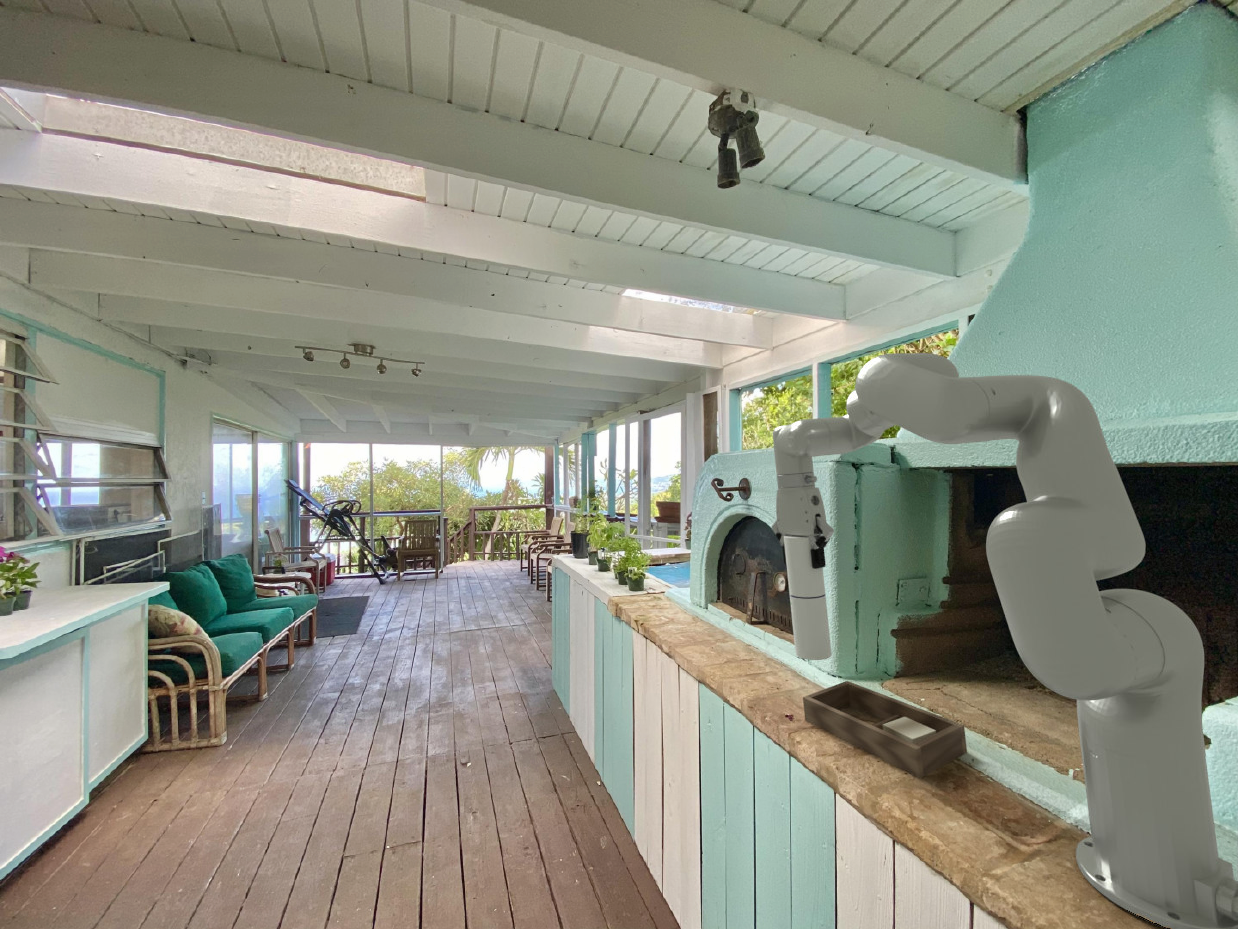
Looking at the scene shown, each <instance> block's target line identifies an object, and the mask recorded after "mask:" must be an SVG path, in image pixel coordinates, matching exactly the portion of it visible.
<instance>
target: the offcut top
mask: <svg viewBox="0 0 1238 929" xmlns="http://www.w3.org/2000/svg"><path fill="white" fill-rule="evenodd" d="M882 725H883V731H886V732H888V733H890V734H892V735H895V736H897V737H899V738H901V739H903V740H906V741H908V742H910V743H912V744H916V743H918V742H920V741H922V740H924V739H926V738H928V737H930V736H932V735H934V734H936V730H934V729H931V728H929V727H927V726H925V725H922V724H920V723H918V722H916V721H914V720H911V719H909V718H907V717H903V718H900V719H897V720H894V721H891V722H888V723H885V724H882Z"/></svg>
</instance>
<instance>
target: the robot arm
mask: <svg viewBox="0 0 1238 929" xmlns="http://www.w3.org/2000/svg"><path fill="white" fill-rule="evenodd" d="M845 408H846V413H847V414H845V415H843V416H838V417H836V416H835V417H820V418H807V419H806V418H805V419H799V420H796V421H794V422H791V423H790V424H784V425H780V426H777V427H775V428H773V431H772V440H773V441H772V442H773V443H772V444H773V452H774V460H775V461H774V462H775V469H776V470H775V471H776V482H777V490H776V498H775V501H776V502H775V503H776V504H775V505H776V506H775V507H776V508H775V512H776V520H775V521H774V523H773V524H772V526H771V530H772V531H773V533H774V534H775V537H776V538H777V540H778V541H779V545H780V546H781V547H782V555H783V564H784V565H787V564H786V554H785V544H784V536H787V535H793V536H806V537H809V541H810V543H811V545H812V547H813V549H811V560H812V567H813V568H814V569H818V568H822V567H823V568H825V567H826V556H825V548H827V545H828V543H829V542H830V540H831V537H832V536H833V534H834V532H835V530H834V528H833V527H831V525H830V524H829V523H827V516H826V510H825V509H826V508H825V505H824V501H823V497H822V494H821V491H820V489H819V487H816V482H817V481H818V477H817V476H816V475H815V474H814V472H815V471H814V462H813V457H821V456H822V457H824V456H833V455H834V456H835V455H844V454H848V453H852V452H854V451H857V450H859V449H861V448H865V447H867V446H869V445H871V444H873V443H875V442H877V441H878V440H879V439H880V438H881V436H882V435H883V434H884V432H885V431H886V430H889V429H890V428H892V427H894V426H897V427H900V428H901V429H903V430H906V431H908V432H909V433H913V434H914V435H915V436H918V437H920V438H923V439H925V440H927V441H929V442H930V441H931V442H932V443H937V444H941V445H942V444H943V445H962V444H970V443H984V442H991V441H999V440H1001V441H1002V440H1016V441H1018V445H1017V450H1016V458H1015V459H1016V460H1015V464H1016V465H1015V467H1016V471H1017V476H1018V479H1019V481H1020V483H1021V486H1022V489H1023V491H1024V496H1025V499H1026V501H1025V502H1021V503H1016V504H1015V505H1012V506H1010V507H1007V508H1006V509H1004V510H1003V511H1001V512H1000V513H998V515H996V516H995V517H994V519H993V521H992V522H991V524H990V526H989V528H988V530H987V535H986V541H985V542H986V543H985V550H986V552H985V553H986V557H987V561H988V566H989V569H990V572H991V575H992V579H993V582H994V585H995V589H996V591H997V594H998V597H999V600H1000V603H1001V607H1002V610H1003V614H1004V615H1005V616H1004V617H1005V620H1006V623H1007V625H1008V629H1009V632H1010V635H1011V638H1012V641H1013V643H1014V646H1015V648H1016V651H1017V653H1018V655H1019V658H1020V659H1021V660H1022V662H1023V664H1024V665H1025V666H1026V668H1027V669H1028V671H1029V672H1030V673H1031V674H1032V675H1033V677H1034V678H1035V679H1036V680H1038V681H1039V682H1040V683H1041V684H1042V685H1043V686H1044V687H1046V688H1047V689H1049V690H1051V691H1052V692H1055V693H1056V694H1058V695H1060V696H1063V697H1064V698H1065V697H1066V698H1068V699H1073V700H1076V716H1077V724H1078V737H1079V744H1080V751H1081V752H1080V753H1081V760H1082V768H1083V777H1084V784H1085V794H1086V800H1087V810H1088V818H1089V826H1090V828H1089V829H1090V835H1091V836H1088V837H1086V838H1083V839H1081V841H1079V842H1078V843H1077V845H1076V848H1075V858H1076V862H1077V866H1078V869H1079V871H1080V872H1081V873H1082V875H1083V876H1084V877H1085V878H1084V879H1086V880H1087V881H1088V882H1089V883H1090V885H1091V886H1093V887H1094V889H1095V890H1097V891H1098V892H1099V893H1101V894H1102V895H1103V896H1104V897H1106V898H1107V899H1108V900H1110V901H1111V902H1113V903H1114V904H1116V905H1117V906H1119V907H1121V908H1123V910H1126V911H1127V910H1128V911H1127V912H1129V911H1130V912H1129V913H1131V912H1133V913H1134V914H1133V913H1132V914H1133V915H1135V914H1139V915H1141V916H1143V917H1146V918H1147V919H1149V920H1152V921H1154V922H1156V923H1158V924H1160V925H1161V926H1160V927H1162V926H1165V927H1169V928H1172V929H1238V880H1235V877H1234V870H1233V864H1232V863H1231V862H1229V861H1228V860H1224V859H1222V858H1220V857H1219V852H1218V842H1217V841H1218V840H1217V834H1216V826H1215V820H1214V818H1215V817H1214V812H1213V803H1212V796H1211V788H1210V781H1209V780H1210V779H1209V774H1208V773H1209V772H1208V766H1207V758H1206V757H1207V753H1206V745H1205V737H1204V728H1203V713H1202V712H1203V711H1202V700H1203V699H1202V698H1203V697H1202V695H1203V685H1204V684H1203V683H1204V673H1205V672H1204V670H1205V651H1204V650H1205V649H1204V646H1203V640H1202V637H1201V634H1200V632H1199V630H1198V628H1197V627H1196V625H1195V624H1194V623H1195V622H1193V620H1192V619H1191V618H1190V617H1189V615H1188V614H1186V613H1185V612H1184V610H1182V609H1181V608H1180V607H1178V606H1177V605H1176V604H1174V603H1173V602H1171V601H1170V600H1168V599H1166V598H1164V597H1162V596H1159V595H1157V594H1154V593H1151V592H1148V591H1145V590H1139V589H1131V588H1112V589H1105V590H1101V591H1099V587H1098V584H1097V582H1096V581H1101V580H1105V579H1109V578H1110V579H1111V578H1113V577H1117V576H1119V575H1122V574H1125V573H1127V572H1129V571H1132V570H1134V569H1136V567H1137V566H1138V565H1139V564H1140V563H1141V562H1142V561H1143V559H1144V557H1145V554H1146V540H1145V539H1146V538H1145V537H1144V533H1143V531H1142V527H1141V526H1140V523H1139V520H1138V518H1137V515H1136V513H1135V510H1134V508H1133V506H1132V503H1131V501H1130V498H1129V496H1128V493H1127V490H1126V488H1125V485H1124V482H1123V481H1122V478H1121V476H1120V473H1119V471H1118V468H1117V465H1116V464H1115V461H1114V460H1113V457H1112V455H1111V452H1110V450H1109V447H1108V445H1107V442H1106V439H1105V437H1104V433H1103V429H1102V427H1101V424H1100V420H1099V418H1098V415H1097V413H1096V412H1097V411H1096V410H1095V408H1094V406H1093V404H1092V402H1091V400H1089V398H1088V397H1087V395H1086V394H1085V393H1084V392H1083V391H1081V389H1080V388H1078V387H1076V386H1075V385H1074V384H1071V383H1070V382H1067V381H1065V380H1062V379H1061V378H1060V379H1059V378H1056V377H1051V376H1045V375H1035V374H1033V375H1029V374H1025V375H1024V374H1019V375H1018V374H1016V375H1015V374H1012V375H1011V374H1010V375H1007V374H1005V375H985V376H967V377H966V376H965V377H962V376H961V377H960V375H959V371H958V369H957V367H956V366H955V364H954V363H953V362H952V361H951V360H950V359H948V358H946V357H945V356H943V355H939V354H937V353H928V352H915V353H914V352H913V353H911V352H909V353H908V352H907V353H905V352H904V353H901V352H900V353H899V352H898V353H885V354H884V353H883V354H880V355H878V356H875V357H873V358H872V359H871V360H868V361H867V362H866V363H865V364H864V365H863V367H861V368H860V370H859V372H858V373H857V376H856V379H855V385H854V389H853V390H852V391H851V392H850V394H849V395H848V397H847V399H846V405H845ZM815 537H817V541H816V539H815Z"/></svg>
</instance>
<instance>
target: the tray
mask: <svg viewBox="0 0 1238 929" xmlns="http://www.w3.org/2000/svg"><path fill="white" fill-rule="evenodd" d="M802 704H803V711H804V721H805V722H808V723H809V724H811V725H814V726H816V727H817V728H820V729H822V730H824V731H826V732H828V733H830V734H832V735H833V736H835V737H837V738H839V739H840V740H843V741H845V742H847V743H849V744H851V745H853V746H854V747H857V748H859V749H860V750H862V751H865V752H867V753H868V754H871V755H873V756H875V757H877V758H878V759H880V760H882V761H884V762H886V763H888V764H890V765H892V766H894V767H896V768H898V769H900V770H901V771H904V772H906V773H908V774H910V775H912V776H914V777H915V778H917V779H922V778H923V777H925V776H927V775H929V774H930V773H932V772H935V771H936V770H938V769H941V767H944V766H946V765H947V764H949V763H951V762H953V761H954V760H957V759H958V758H959V757H961V756H963V755H965V754H967V753H968V749H967V748H968V746H967V742H966V740H967V739H966V731H965V730H966V729H965V725H964V724H961V723H959V722H957V721H955V720H951V719H949V718H945V717H943V716H941V715H937V714H935V713H933V712H930V711H927V710H925V709H922V708H919V707H917V706H914V705H912V704H909V703H906V702H904V701H901V700H898V699H896V698H893V697H891V696H888V695H885V694H883V693H880V692H879V691H878V692H877V691H875V690H873V689H869V688H867V687H864V686H862V685H859V684H856V683H854V682H851V681H848V680H845V681H843V682H841V683H837V684H835V685H832V686H830V687H826V688H824V689H821V690H818V691H815V692H813V693H811V694H808V695H805V696H803V697H802ZM848 707H852V708H855V709H857V710H859V711H861V712H863V713H866V714H868V715H870V716H873V717H875V718H878V719H880V720H881V721H878V722H876V723H873V724H870V723H868V722H865V721H863V720H861V719H859V718H857V717H854V716H852V715H851V714H848V713H846V712H843V711H842V710H843V709H846V708H848ZM903 717H907V718H909V719H911V720H914V721H916V722H918V723H920V724H922V725H925V726H927V727H929V728H931V729H934V730H936V734H934V735H932V736H930V737H928V738H926V739H924V740H922V741H920V742H918V743H916V744H912V743H910V742H908V741H906V740H903V739H901V738H899V737H897V736H895V735H892V734H890V733H888V732H886V731H883V725H882V724H885V723H888V722H891V721H894V720H897V719H900V718H903Z"/></svg>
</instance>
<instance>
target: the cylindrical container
mask: <svg viewBox="0 0 1238 929" xmlns="http://www.w3.org/2000/svg"><path fill="white" fill-rule="evenodd" d="M815 539H816V541H817V537H815ZM784 544H785V554H786V564H785V565H786V571H787V572H786V573H787V581H788V582H787V583H788V591H789V592H788V594H789V601H790V611H791V620H792V621H791V622H792V632H793V642H794V650H795V651H794V653H795V655H796V656H797V657H798V658H800V659H803V660H809V661H822V660H828V659H829V658H831V657H832V655H833V654H832V646H831V645H832V644H831V637H830V636H831V635H830V626H829V618H828V617H829V616H828V609H827V608H828V607H827V596H826V588H825V580H824V579H825V578H824V567H822V568H818V569H814V568H813V567H812V560H811V549H813V547H812V545H811V543H810V541H809V537H806V536H793V535H787V536H784Z"/></svg>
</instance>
